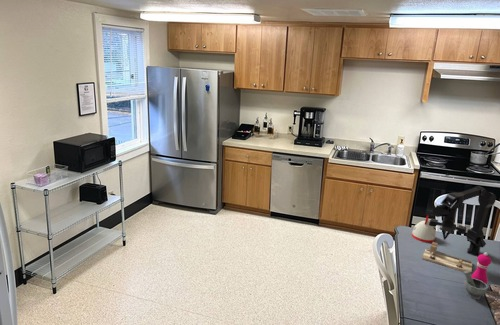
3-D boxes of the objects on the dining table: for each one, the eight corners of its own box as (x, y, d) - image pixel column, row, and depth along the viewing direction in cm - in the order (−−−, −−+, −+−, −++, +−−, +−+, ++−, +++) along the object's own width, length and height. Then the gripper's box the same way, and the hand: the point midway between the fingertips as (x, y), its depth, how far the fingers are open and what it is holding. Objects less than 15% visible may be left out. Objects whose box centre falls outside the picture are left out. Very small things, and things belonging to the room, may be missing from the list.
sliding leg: (430, 249, 222) (432, 241, 220) (436, 250, 220) (437, 243, 219) (428, 256, 213) (429, 249, 212) (433, 258, 211) (435, 250, 210)
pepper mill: (487, 291, 185) (497, 257, 180) (472, 289, 187) (481, 255, 181) (482, 283, 192) (490, 250, 187) (467, 281, 194) (475, 248, 188)
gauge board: (425, 249, 224) (426, 246, 223) (472, 263, 211) (473, 260, 210) (422, 259, 214) (422, 255, 213) (470, 273, 201) (471, 270, 200)
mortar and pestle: (485, 294, 183) (491, 274, 180) (483, 304, 176) (489, 282, 172) (460, 286, 189) (465, 265, 186) (457, 294, 182) (462, 273, 179)
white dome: (435, 236, 242) (440, 215, 238) (433, 244, 231) (437, 223, 227) (413, 230, 249) (417, 210, 245) (410, 238, 238) (414, 217, 234)
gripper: (430, 215, 207) (425, 239, 211) (467, 224, 197) (461, 250, 202) (432, 209, 216) (428, 232, 220) (468, 217, 206) (463, 242, 211)
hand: (444, 239), depth 213 cm, fingers closed
